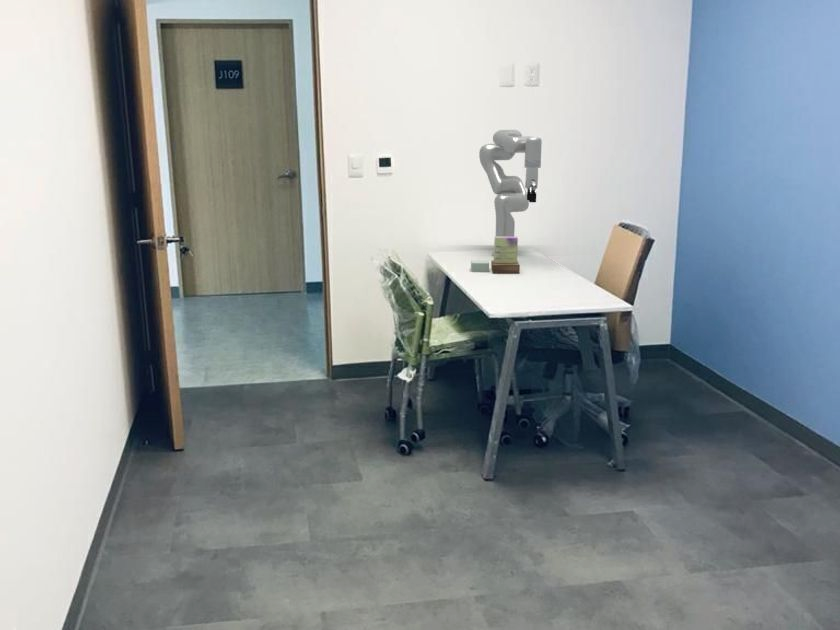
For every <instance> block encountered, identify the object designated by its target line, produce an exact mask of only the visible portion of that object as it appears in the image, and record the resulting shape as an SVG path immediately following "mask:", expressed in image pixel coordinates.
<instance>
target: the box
mask: <svg viewBox="0 0 840 630" xmlns="http://www.w3.org/2000/svg"><path fill="white" fill-rule="evenodd" d="M518 240H519V239H518V236H514V237H511V236H496V235H495V236H494V244H493V245H494V246H493V247H494V248H493V252H494V256H493V260H494V263H515V264H516V263H517V261H518V242H519V241H518Z"/></svg>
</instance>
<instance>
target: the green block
mask: <svg viewBox="0 0 840 630" xmlns="http://www.w3.org/2000/svg"><path fill="white" fill-rule="evenodd" d="M470 271H471V272H472V273H489V272H490V262H489V260H488V259H487V260H485V259H483V260H482V259H481V260H479V259H478V260H475V259H474V260H473V259H472V260H470Z"/></svg>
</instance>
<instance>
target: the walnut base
mask: <svg viewBox="0 0 840 630" xmlns="http://www.w3.org/2000/svg"><path fill="white" fill-rule="evenodd" d="M490 261H491V262H490V263H491V264H490V267H491V272H492V274H493V275H495V274H497V275H500V274H502V275H506V274H507V275H519V274H520V272H521V271H520V268H521V267H520V266H521V265H520V263H519V261H518V260H517V263H516V264H515V263H494V259H492V260H490Z"/></svg>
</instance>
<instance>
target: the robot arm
mask: <svg viewBox="0 0 840 630" xmlns="http://www.w3.org/2000/svg"><path fill="white" fill-rule="evenodd" d="M492 142H493V143H487V144H484V145H482V146H481V147H480V149H479V161H480V165H481V166H482V168H483V170H484V171H485V173H486V175H487V179H488V181H489V184H490V186H491V189H492V192H493V193H494V195H496V196H495V197H494V201H493V203H494V209H495V236H511V237H515V218H514V216H513V214H511V213H519V212H521V213H522V212H525V211H527V210H528V209H529V205H530V203H537V189H538V186H539V185H538V181H539V168H542V144H543V143H542V139H541V137H534V136H523V135H522V133H521V132H520V131H519V130H517V129H500V130H497V131H496V132H494V133H493V135H492ZM517 153H518V154H522V153H524V168H525V184H524V183H523V180H522V179H521V178H520V177H519V176H517V175H506V174H505V172H504V169H503V168H502V166H501V165H500V164H499V163H498V162H496V161H509V160H511V159H512V158H513V157H514V156H515V155H516V154H517ZM526 190H527V191H526ZM491 256H493V257H494V251H493V252H492V253H491Z"/></svg>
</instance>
